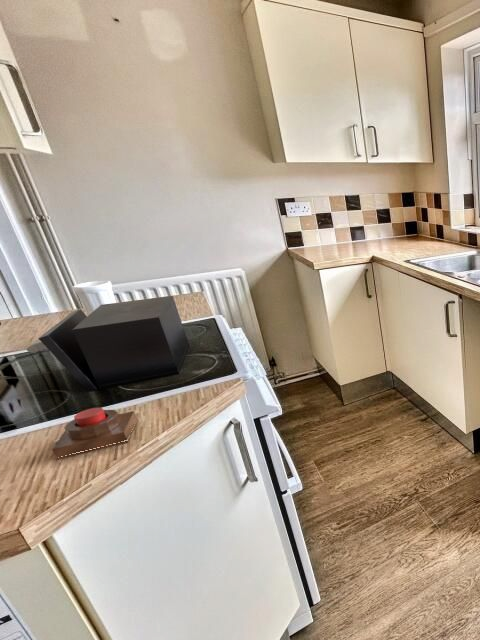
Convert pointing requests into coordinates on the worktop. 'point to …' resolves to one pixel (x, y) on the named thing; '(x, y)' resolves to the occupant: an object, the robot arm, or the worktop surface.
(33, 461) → the worktop surface
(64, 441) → the block
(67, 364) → the oven door
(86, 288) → the cup
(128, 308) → the oven
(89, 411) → the button
